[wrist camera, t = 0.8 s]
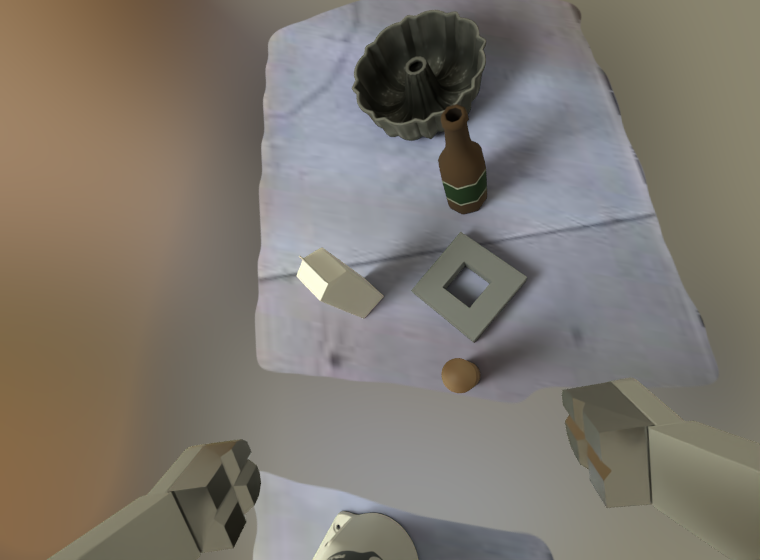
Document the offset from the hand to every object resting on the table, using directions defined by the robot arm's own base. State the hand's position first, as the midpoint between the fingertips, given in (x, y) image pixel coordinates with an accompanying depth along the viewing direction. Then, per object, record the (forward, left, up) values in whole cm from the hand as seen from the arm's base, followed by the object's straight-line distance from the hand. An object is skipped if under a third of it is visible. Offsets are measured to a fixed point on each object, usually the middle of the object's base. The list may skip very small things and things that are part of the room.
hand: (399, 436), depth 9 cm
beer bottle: (+25, +23, -55) cm, 65 cm away
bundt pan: (+38, +45, -55) cm, 81 cm away
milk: (-3, +26, -55) cm, 61 cm away
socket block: (+11, +12, -55) cm, 57 cm away
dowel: (-1, +2, -55) cm, 55 cm away
